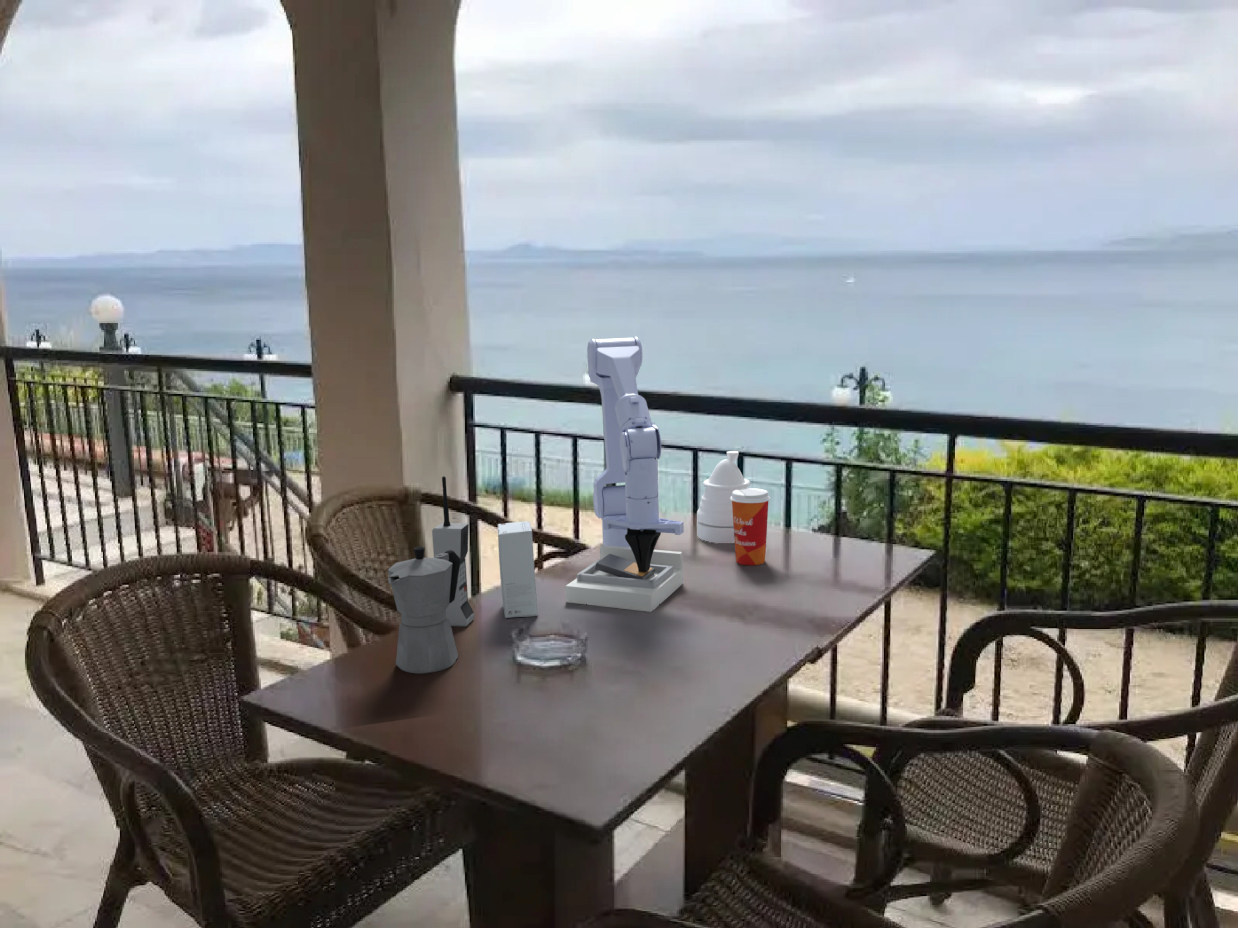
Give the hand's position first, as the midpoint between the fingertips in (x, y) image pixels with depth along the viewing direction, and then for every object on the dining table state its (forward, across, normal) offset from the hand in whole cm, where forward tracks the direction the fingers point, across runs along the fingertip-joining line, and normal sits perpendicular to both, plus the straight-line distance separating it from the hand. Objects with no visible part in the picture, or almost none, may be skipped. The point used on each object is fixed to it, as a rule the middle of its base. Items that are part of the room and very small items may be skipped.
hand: (644, 570), depth 178 cm
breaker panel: (+4, -4, 0) cm, 6 cm away
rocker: (0, -4, 0) cm, 4 cm away
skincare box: (+5, -18, -14) cm, 23 cm away
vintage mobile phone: (+5, -25, -23) cm, 34 cm away
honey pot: (+4, +2, +42) cm, 42 cm away
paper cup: (+5, +12, +25) cm, 28 cm away
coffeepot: (+5, -20, -38) cm, 43 cm away
